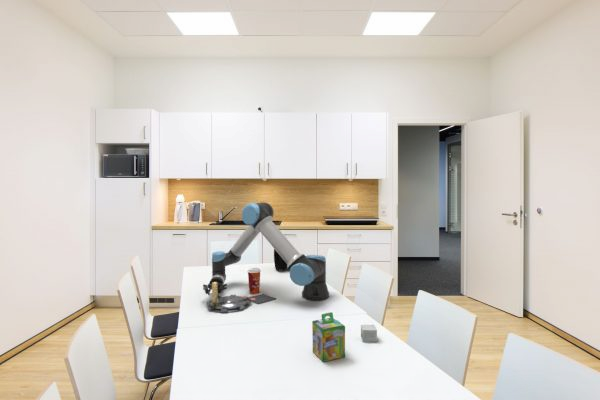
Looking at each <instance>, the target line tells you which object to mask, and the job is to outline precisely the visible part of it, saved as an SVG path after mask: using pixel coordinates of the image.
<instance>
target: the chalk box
mask: <svg viewBox="0 0 600 400" xmlns="http://www.w3.org/2000/svg"><path fill="white" fill-rule="evenodd" d="M326 317H327V318H326ZM311 322H312V323H311V324H312V327H311V328H312V330H311V331H312V333H311V334H312V353H314V354H315V355H316V356H317V357H318V358H319V359H320V360H321V361H322V362H323V363H324V362H328V361H333V360H337V359H342V358H345V357H346V326H345V325H344V324H343V323H341V322H340V321H339V320H338V319H335V318H334V314H333V312H326V313H322V314H321V319H315V320H313V321H311Z"/></svg>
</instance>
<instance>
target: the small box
mask: <svg viewBox="0 0 600 400" xmlns="http://www.w3.org/2000/svg"><path fill="white" fill-rule="evenodd" d="M360 337H361V341H362V342H363V343H377V342H378V331H377V328H376V326H375V324H361V325H360Z"/></svg>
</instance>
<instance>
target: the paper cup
mask: <svg viewBox="0 0 600 400" xmlns="http://www.w3.org/2000/svg"><path fill="white" fill-rule="evenodd" d="M261 271H262V270H261V268H259V267H250V268H248V269H247V275H248V276H247V277H248V288H249V294H250V295H259V294H260V291H261V290H260V289H261V288H260V287H261Z"/></svg>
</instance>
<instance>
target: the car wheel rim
mask: <svg viewBox="0 0 600 400" xmlns="http://www.w3.org/2000/svg"><path fill="white" fill-rule="evenodd" d="M273 261H274V267H275V270H276V271H277V272H279V271H281V270H283V271H284V270H287V271H289V270H288V269H287V263H286V262H285V261H284V260H283V259H282V257H281V256H280V255H279V254H278V253H277V251H276V250H275V249H274V248H273Z"/></svg>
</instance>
